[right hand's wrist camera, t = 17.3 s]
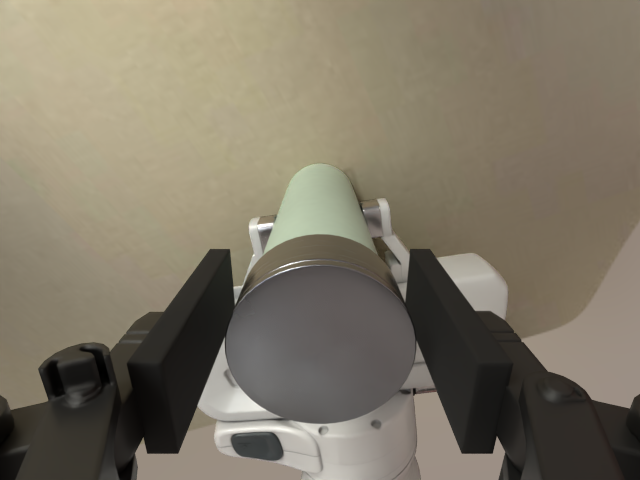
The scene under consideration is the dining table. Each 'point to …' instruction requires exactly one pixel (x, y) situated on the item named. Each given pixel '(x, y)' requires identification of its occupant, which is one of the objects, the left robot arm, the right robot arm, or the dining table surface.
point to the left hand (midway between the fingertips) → (317, 210)
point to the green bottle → (320, 208)
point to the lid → (320, 331)
